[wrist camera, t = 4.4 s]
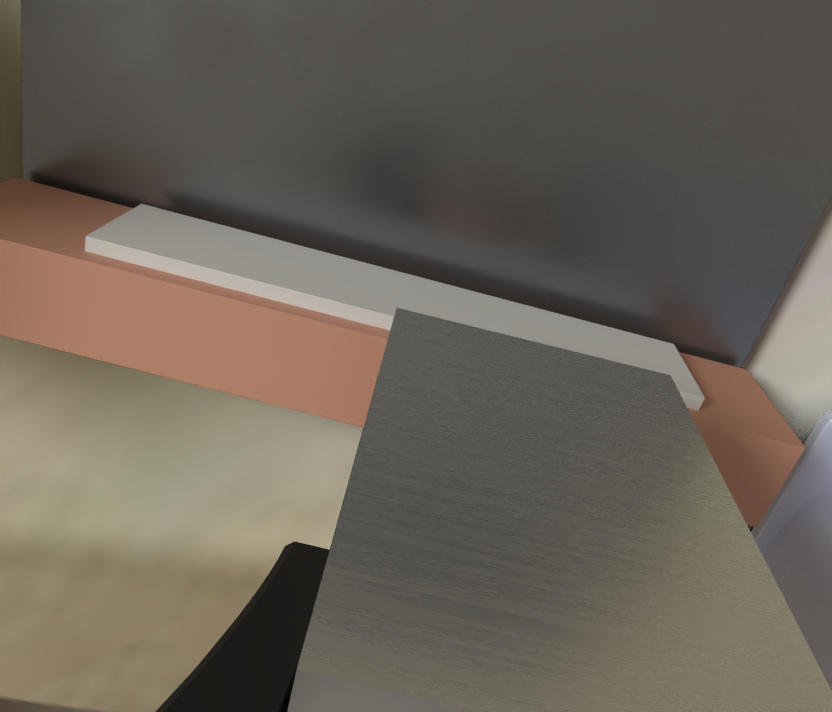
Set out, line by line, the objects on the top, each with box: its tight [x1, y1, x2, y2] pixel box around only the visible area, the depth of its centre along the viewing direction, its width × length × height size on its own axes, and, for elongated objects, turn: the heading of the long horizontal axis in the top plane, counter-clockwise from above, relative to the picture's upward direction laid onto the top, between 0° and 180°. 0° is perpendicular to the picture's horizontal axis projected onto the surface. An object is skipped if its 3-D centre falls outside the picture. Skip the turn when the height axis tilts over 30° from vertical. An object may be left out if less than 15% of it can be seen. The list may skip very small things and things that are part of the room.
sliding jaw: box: [0, 177, 805, 528], centre depth 15 cm, size 17×2×3 cm, turn 76°
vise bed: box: [21, 0, 832, 368], centre depth 12 cm, size 17×17×4 cm
